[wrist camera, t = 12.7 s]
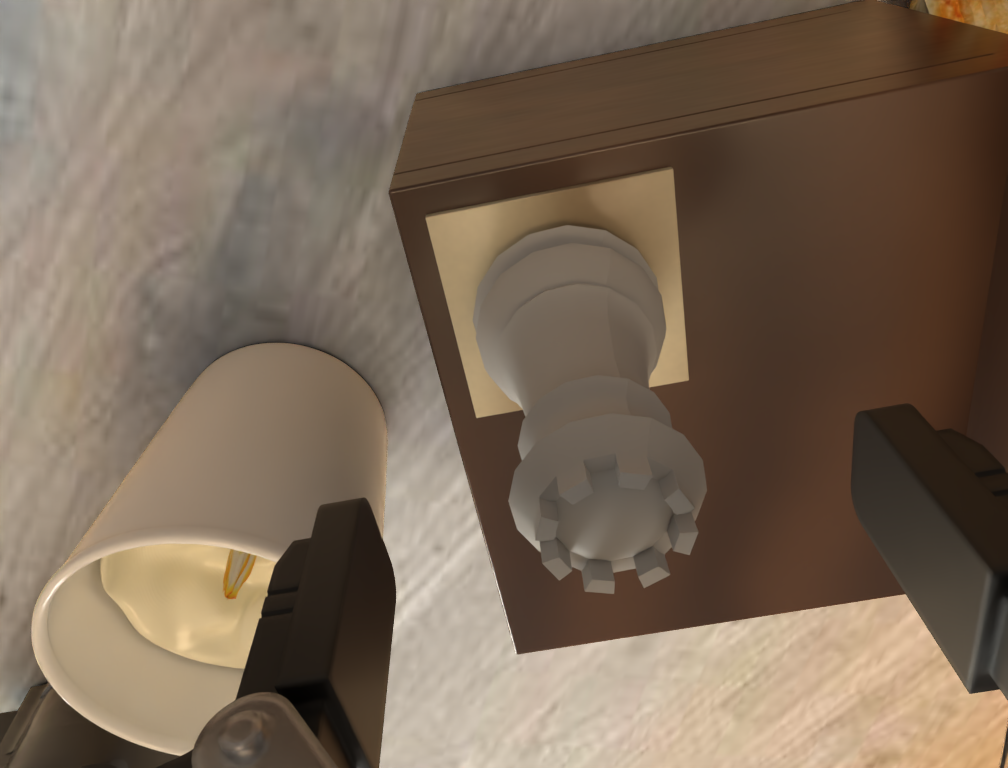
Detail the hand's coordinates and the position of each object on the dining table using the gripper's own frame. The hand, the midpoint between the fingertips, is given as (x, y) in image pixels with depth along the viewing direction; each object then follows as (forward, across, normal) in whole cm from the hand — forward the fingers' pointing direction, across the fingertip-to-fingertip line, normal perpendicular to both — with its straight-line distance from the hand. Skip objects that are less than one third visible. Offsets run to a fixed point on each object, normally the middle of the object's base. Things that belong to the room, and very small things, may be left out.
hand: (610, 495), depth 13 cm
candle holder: (+18, +12, +8) cm, 23 cm away
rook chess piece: (+7, 0, 0) cm, 7 cm away
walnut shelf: (+17, -4, +4) cm, 18 cm away
